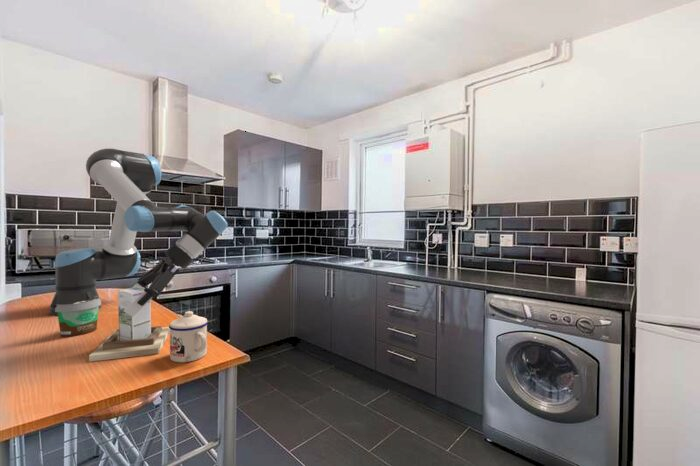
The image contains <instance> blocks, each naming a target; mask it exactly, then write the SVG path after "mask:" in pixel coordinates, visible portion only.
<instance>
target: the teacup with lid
mask: <svg viewBox="0 0 700 466" xmlns="http://www.w3.org/2000/svg"><path fill="white" fill-rule="evenodd" d="M208 323H209V322H208V318H206V317H204V316H199V315H197V314H194V311H192V310H191V311H190V310H189V311H185V312H184V315H182V316H180V317H178V318H176V319H174V320H172V321H171V322H170V323H169V325H168V327H169V328H170V333H169V358H170V360H171V361H172V362H175V363H188V362H194V361H197V360H200V359H202V358H204V357H205V355H207V352H208V350H207V349H208V341H207V340H208Z"/></svg>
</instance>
